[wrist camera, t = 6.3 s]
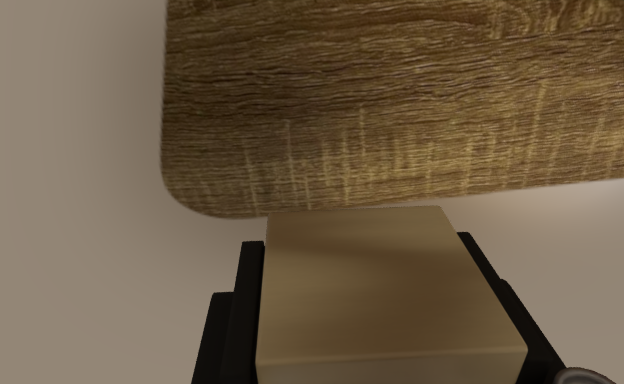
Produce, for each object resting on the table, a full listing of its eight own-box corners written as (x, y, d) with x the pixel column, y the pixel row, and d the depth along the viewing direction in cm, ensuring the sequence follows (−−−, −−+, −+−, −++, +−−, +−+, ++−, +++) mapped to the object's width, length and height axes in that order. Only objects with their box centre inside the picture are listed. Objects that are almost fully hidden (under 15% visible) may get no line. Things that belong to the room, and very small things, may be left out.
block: (278, 331, 12) (273, 498, 8) (267, 211, 10) (254, 363, 6) (419, 323, 12) (478, 485, 8) (440, 203, 10) (532, 348, 6)
